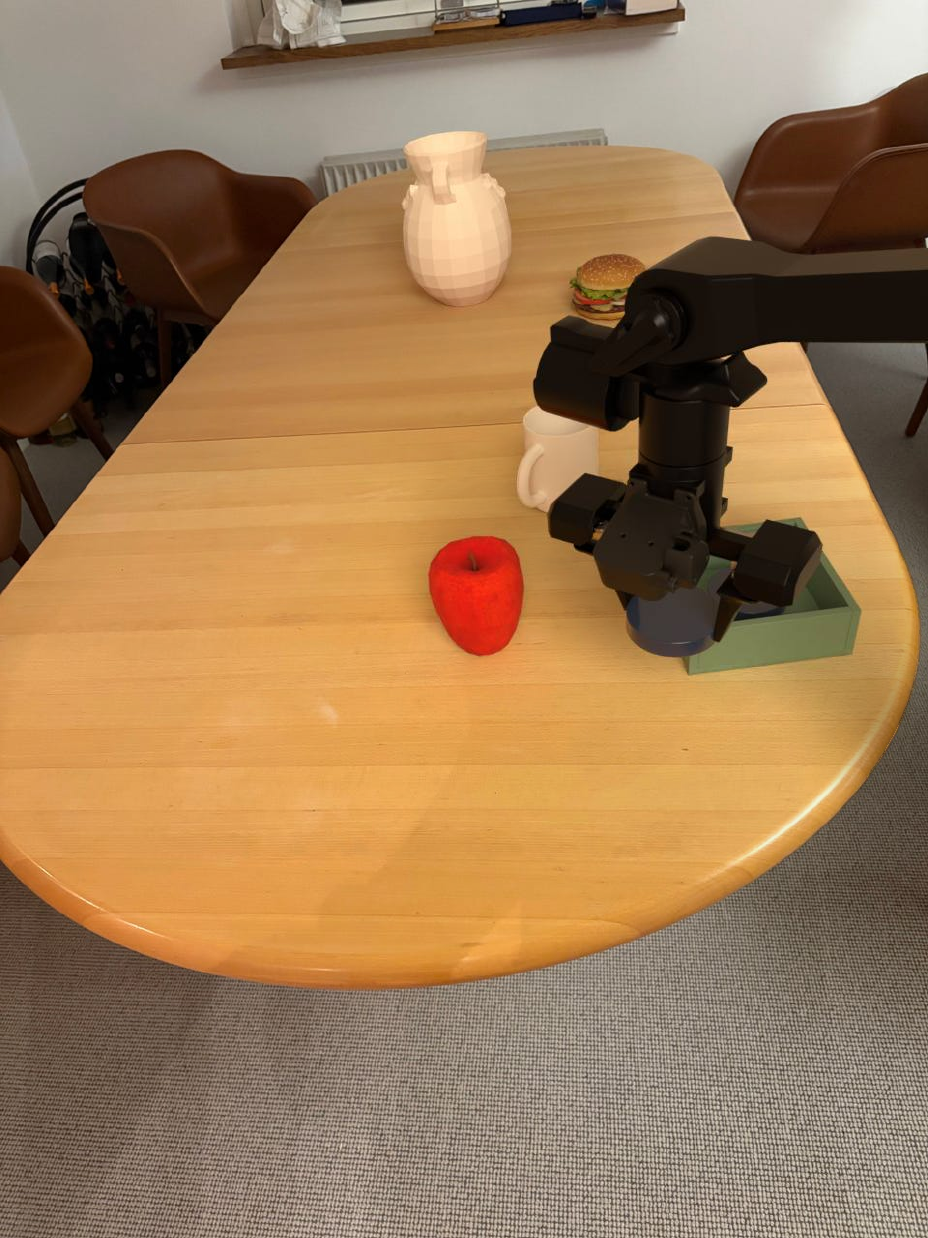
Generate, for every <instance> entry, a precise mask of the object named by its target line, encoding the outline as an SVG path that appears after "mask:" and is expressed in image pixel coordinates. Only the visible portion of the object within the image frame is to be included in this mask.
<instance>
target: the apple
mask: <svg viewBox="0 0 928 1238" xmlns="http://www.w3.org/2000/svg"><path fill="white" fill-rule="evenodd" d="M427 575H428V591H429V594H430V598H431V601H432V604H433V607H434V610H435V613H436V615H437V616H438V619H439V621H440V623H441V624H442V626H443V627H444V629H445V631H446V633H447V634H448V636H449V637H450V639H451V640H452V641H453V642H454V643H455V644H456V645H457V646H458V647H459V648H461V649H462V650H464V651H465V652H466V653H468V654H471V655H473V656H477V657H484V656H492V655H494V654H496V653H498V652H500V651H502V650H503V649H504V648H506V646H508V645H509V644H510V642H511V640H512V639H513V637H514V636H515V633H516V632H517V630H518V626H519V622H520V619H521V614H522V609H523V600H524V590H525V583H524V576H523V571H522V566H521V561H520V556H519V555H518V552H517V550H516V548H515V547H514V546H513V545H512V544H511V543H509V542H508V541H507V540H506V539H503V538H500V537H497V536H494V535H472V536H469V537H465V538H460V539H458V540H451V541H450V542H448V543H447V544H446V545H445V546H443V547H442V548H440V549H439V550H438V552H437V553H436V555H434V558H433V559H432V560H431V562H430V565H429V569H428V574H427Z"/></svg>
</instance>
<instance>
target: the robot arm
mask: <svg viewBox="0 0 928 1238" xmlns="http://www.w3.org/2000/svg"><path fill="white" fill-rule="evenodd" d="M549 336H550V342H549V343H548V344H547V346H546V347H545V349H544V350H543V352H542V355H541V357H540V359H539V361H538V365H537V368H536V374H535V377H534V378H533V381H532V390H533V391H532V393H533V397H534V400H535V403H536V406H539V407H540V409H541V410H543V411H545V412H547V413H550V414H554V415H557V416H560V417H563V418H567V419H570V420H573V421H577V422H580V423H583V424H587V425H590V426H593V427H597V428H599V430H603V431H607V432H615V433H616V432H619V431H620V430H623V429H624V428H625V427H627V426H628V424H629V423H630V422H634V421H635V420H637V419H638V431H637V433H638V436H637V438H638V439H637V441H638V442H637V463H636V464H634V466H633V467H632V468H631V469H630V470H629V471H628V479H627V480H626V482H623V481H619V480H616V479H611V478H607V477H603V476H601V475H599V476H596V475H592V474H588V473H584V474H583V475H581V476H580V477H579V478H578V479H576V480H575V481H574V482H573V483H572V484H571V485H570V486H569V487H568V488H567V489H566V490H565V491H564V492H563V493H562V494H561V495H560V496H559V497H558V498H556V499H555V500H554V501H553V502H552V503H551V505H550V508H549V511H548V513H547V514H546V515H547V517H546V518H547V530H548V534H549V536H550V538H552V539H555V540H558V541H562V542H565V543H568V544H571V545H573V548H574V549H575V551H577V552H579V553H582V554H585V555H587V556H590V557H592V558H593V559H594V563H595V566H596V568H597V572H598V574H599V578H600V580H601V583H602V585H603V586H605V587H606V588H608V589H610V590H613V591H614V592H615V594H616V596H617V599H618V600H619V602H620V604H621V607H622V609H623V611H624V612H626V609H627V605H628V603H629V601H630V600H631V599H632V597H633V596H634V595H636V596H639V597H640V598H641V599H644V600H647V601H658V600H660V599H662V598H664V597H665V596H666V594H667V593H668V592H669V593H672V594H674V593H675V591H676V590H677V589H678V588H685V589H688V590H692V589H694V588H695V587H696V586H697V584H698V582H699V580H700V578H701V576H702V575H703V573H704V571H705V569H706V567H707V565H708V562H709V558H710V555H711V556H714V557H718V558H721V559H725V560H728V561H731V569H732V571H731V573H730V574H729V575H728V577H727V578H726V579H725V581H724V582H723V583H722V585H721V586H720V587H719V589H718V590H717V591H716V593H717V594H718V595H719V596H720V602H719V607H718V612H717V617H716V622H715V627H714V641H715V642H718V643H720V641H721V640H722V638H723V637H724V635H725V634H726V632H727V630H728V629H729V627H730V625H731V624H732V622H733V620H734V619H735V617H736V615H737V613H738V612H739V610H740V608H741V607H742V605H743V603H747V604H750V605H756V604H759V603H761V602H764V603H768V604H771V605H774V606H777V607H786V606H791V605H793V603H794V602H795V600H796V599H797V597H798V596H799V594H800V593H801V591H802V590H803V588H804V587H805V585H806V583H807V582H808V580H809V579H810V577H811V576H812V574H813V573H814V571H815V570H816V568H817V567H818V565H819V563H820V557H821V552H822V551H823V543H822V541H821V540H822V539H821V538H820V537H819V535H818V533H817V532H816V531H815V530H811V529H809V530H807V529H803V528H799V527H796V526H792V525H788V524H784V523H780V522H776V520H772V519H767V518H765V520H764V521H763V522H764V523H763V524H762V525H761V527H760V528H759V529H758V531H755V532H752V533H749V534H748V533H743V532H740V531H736V530H732V529H728V528H725V527H726V526H721V518H723V516H724V515H725V513H727V511H728V505H729V498H728V497H724V496H723V495H724V483H725V473H726V472H725V471H726V467H727V466H728V465H729V464H730V463H731V462H732V460H733V454H734V453H733V452H734V447H733V446H730V445H728V435H729V424H730V413H731V408H734V409H737V408H740V407H741V406H742V405H743V404H744V403H745V402H747V401H748V400H749V399H750V398H752V397H753V396H754V395H755V394H756V393H758V392H759V391H761V390H762V389H763V388H765V386H766V385H767V383H768V377H767V376H766V374H765V373H764V372H763V371H762V370H761V369H760V368H759V367H758V366H757V365H755V364H753V363H752V361H750V360H749V359H748V357H747V356H746V354H745V351H749V350H751V349H752V350H753V349H755V348H757V347H763V346H766V345H767V346H768V345H774V344H778V343H811V344H812V343H820V344H823V343H824V344H825V343H831V344H834V343H835V344H840V343H841V344H928V247H916V248H901V249H883V250H869V251H868V250H867V251H849V252H836V253H819V254H817V253H816V254H801V253H794V252H793V253H792V252H786V251H783V250H782V249H779V248H777V247H774V246H773V245H770V244H769V243H766V242H764V241H758V240H750V239H741V238H733V237H724V236H715V235H713V236H712V235H710V236H709V235H708V236H706V237H702V238H698V239H696V240H694V241H692V242H690V243H689V244H688V245H686V246H684V247H682V248H681V249H679V250H678V251H675V252H673V253H672V254H671V255H669V256H667V257H666V258H664V259H662V260H660V261H659V262H657V263H655V264H653V265H651V266H650V267H648V269H647V270H645V271H643V272H642V273H640V274H639V275H637V276H636V277H635V278H634V281H633V282H632V284H631V285H630V287H629V289H628V291H627V295H626V299H625V314H624V316H623V317H622V318H620V320H619V321H618V322H617V323H616V325H615V326H614V327H612V326H607V325H602V324H597V323H593V322H591V321H588V320H587V319H585V318H582V317H579V316H574V315H570V314H568V315H566V316H565V317H563V318H561V319H559V320H558V321H556V322H555V323H552V324H551V325H550V327H549Z"/></svg>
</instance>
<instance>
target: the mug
mask: <svg viewBox="0 0 928 1238" xmlns="http://www.w3.org/2000/svg"><path fill="white" fill-rule="evenodd" d="M522 431H523V444H524V454H523V456H522V459H521V460H520V463H519V466H518V469H517V470H518V471H517V474H516V493H517V496H518V499H519V501H520V503H521V504H522V505H523V506H524V507H526V508H530V509H534V508H536V509H538V510H539V511H542V512H544V513H545V514H546V513H547V514H548V511H549V508H550V505H551V503H552V502H553V501H554V500H555V499H556V498H558V497H559V496H560V495H561V494H562V493H563V492H564V491H565V490H566V489H567V488H568V487H569V486H570V485H571V484H572V483H573V482H574V481H575V480H576V479H578V478H579V477H580V476H581V475H583V474H584V473H588V474H592V475H596V476H600V444H599V443H600V437H599V436H600V435H599V433H600V432H599V431H600V428H597V427H593V426H590V425H587V424H583V423H580V422H577V421H573V420H570V419H567V418H563V417H560V416H557V415H554V414H550V413H547V412H545V411H543V410H541V409H540V407H539V406H538V405H536V406H534V407H532V408H531V409H529V410H528V411H527V412H526V413H525V414H524V416H523V417H522Z"/></svg>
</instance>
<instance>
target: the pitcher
mask: <svg viewBox="0 0 928 1238" xmlns="http://www.w3.org/2000/svg"><path fill="white" fill-rule="evenodd" d="M488 138H489V137H488V135H486V134H485V133H484V132H480V131H448V132H441V133H434V134H429V135H426V136H423V137H419V138H417V139H414V140H411V141H408V143H407V144H406V145H404V147H403V149H402V150H403V153H404V157H405V160H406V162H407V165H408V166H409V168H410V169H411V171H412V172H413V174H414V175H415V177H416V178H415V180H414V181H415V182H414V184H409V186H408V188H407V190H406V193H405V197H404V198H403V200H402V202H401V206H402V209H403V210H404V216H403V224H402V226H403V227H402V233H403V236H402V237H403V249H404V255H405V260H406V261H405V262H406V265H407V267H408V269H409V272H410V273H411V275H412V277H413V280H414V281H415V282H416V283H417V284H418V285H419V286H420V287H421V288H422V289H423V290H424V291H425V292H426V293H427V294H428V295H429V296H431V297H432V298H434V299H436V300H437V301H439V302H440V303H442V304H443V305H446V306H450V307H470V306H475V305H478V304H481V303H483V302H486V301H487V300H488V299H490V298H491V297H492V295H493V294H494V292H495V291H496V289H497V288H498V287H499V284H500V283H501V281H502V280H503V278H504V276H505V273H506V271H507V269H508V267H509V263H510V260H511V259H510V258H511V254H512V250H513V249H512V248H513V247H512V246H513V243H512V242H513V241H512V237H513V236H512V235H513V233H512V231H513V230H512V226H511V222H510V217H509V214H508V209H507V205H506V200H505V198H506V195H507V193H506V191H505V189H504V187H502V186H500V185H499V183H498V181H497V178H495V177H492V176H491V175H490V173H489V172H485V173H482V166H483V163H484V159H485V155H486V152H487V147H488Z"/></svg>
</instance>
